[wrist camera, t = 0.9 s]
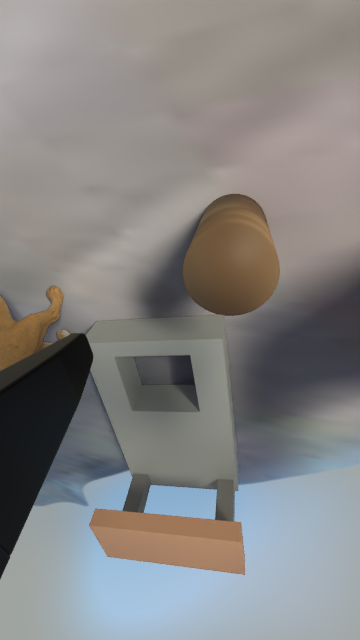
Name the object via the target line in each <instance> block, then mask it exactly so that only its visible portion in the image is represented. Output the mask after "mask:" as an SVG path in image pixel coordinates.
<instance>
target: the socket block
mask: <svg viewBox="0 0 360 640" xmlns="http://www.w3.org/2000/svg"><path fill="white" fill-rule="evenodd" d="M86 337H87V339H88V342H89V344H90V347H91V349H92V352H93V363H92V366H91V369H90V371H91V373H92V376H93V378H94V381H95V383H96V386H97V388H98V391H99V393H100V396H101V399H102V401H103V404H104V406H105V409H106V411H107V414H108V416H109V419H110V421H111V424H112V426H113V429H114V431H115V434H116V436H117V439H118V442H119V444H120V447H121V449H122V452H123V454H124V457H125V459H126V462H127V464H128V467H129V469H130V472H131V474H132V477H133V475H134V473H136V474H148V476H149V479H150V482H151V484H150V485H163V486H177V487H191V488H205V489H217V483H218V479H228V480H234V488H235V491H238V454H237V444H236V433H235V423H234V412H233V402H232V392H231V381H230V371H229V360H228V350H227V339H226V329H225V318H224V315H205V316H186V317H167V318H148V319H129V320H110V321H96V322H95V324H94V325H93V326H92V328H91V329H90V331H89V332H88V333H87V335H86ZM171 355H190V357H191V363H192V369H193V374H194V380H195V385H142V383H141V379H140V376H139V372H138V369H137V366H136V362H135V359H134V356H171Z"/></svg>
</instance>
